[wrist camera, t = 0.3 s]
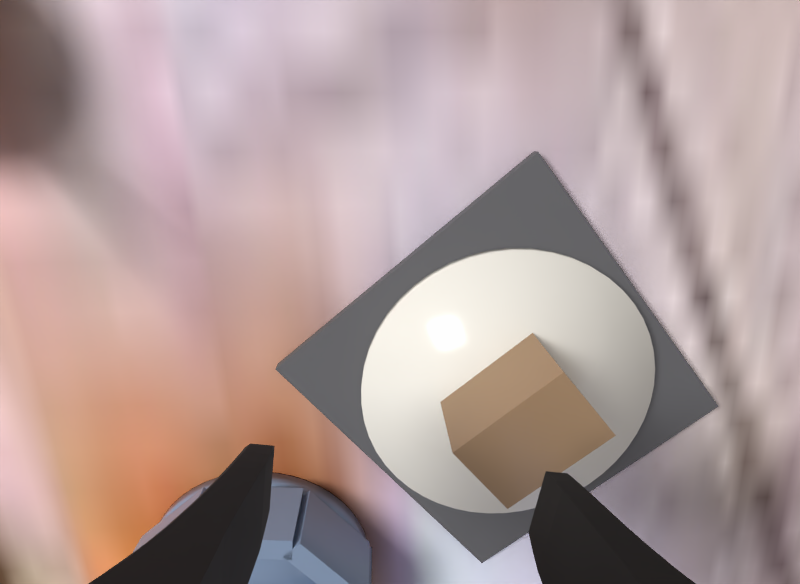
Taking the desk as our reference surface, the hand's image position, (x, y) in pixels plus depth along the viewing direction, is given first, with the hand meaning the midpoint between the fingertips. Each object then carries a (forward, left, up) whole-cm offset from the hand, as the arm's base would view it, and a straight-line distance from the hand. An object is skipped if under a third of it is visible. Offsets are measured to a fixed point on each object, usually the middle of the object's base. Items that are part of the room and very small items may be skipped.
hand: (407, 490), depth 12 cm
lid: (-5, -3, -9) cm, 10 cm away
